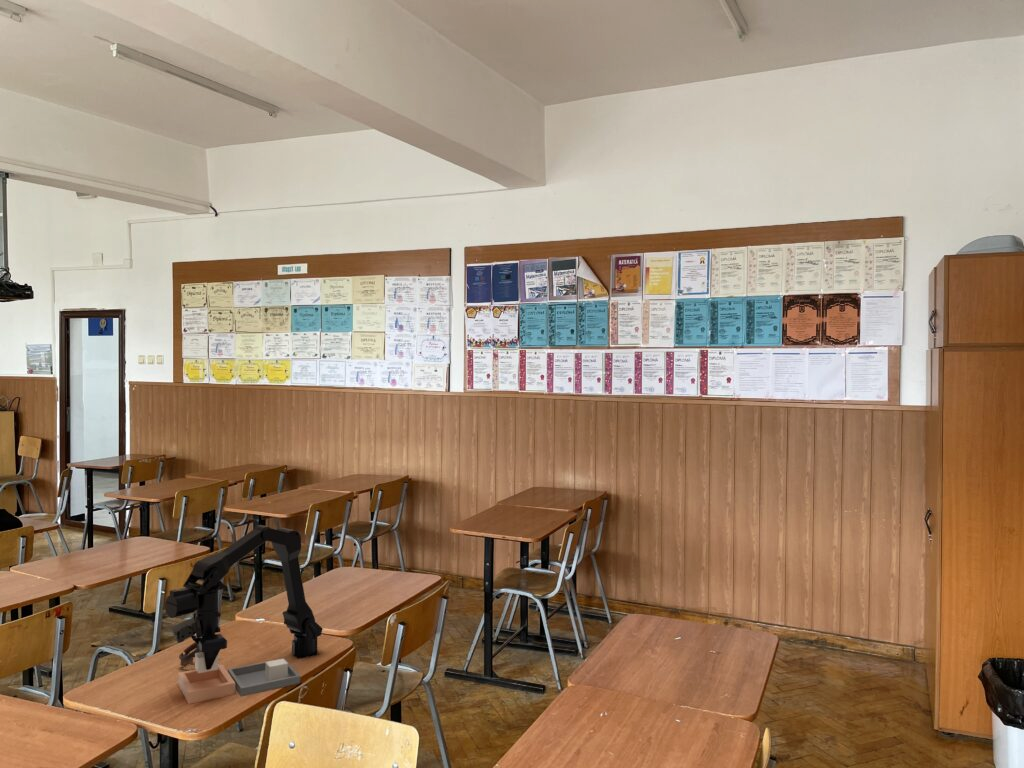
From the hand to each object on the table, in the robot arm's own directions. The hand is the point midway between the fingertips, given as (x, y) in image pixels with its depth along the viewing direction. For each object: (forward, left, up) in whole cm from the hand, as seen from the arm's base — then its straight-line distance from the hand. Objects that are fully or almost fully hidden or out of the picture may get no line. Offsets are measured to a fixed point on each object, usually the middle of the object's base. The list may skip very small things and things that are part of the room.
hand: (206, 666), depth 201 cm
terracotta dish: (0, 0, -6) cm, 7 cm away
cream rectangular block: (0, 0, -1) cm, 1 cm away
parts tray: (-14, +2, -6) cm, 16 cm away
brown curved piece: (-2, -18, -7) cm, 20 cm away
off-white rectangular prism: (-18, +2, -6) cm, 19 cm away
